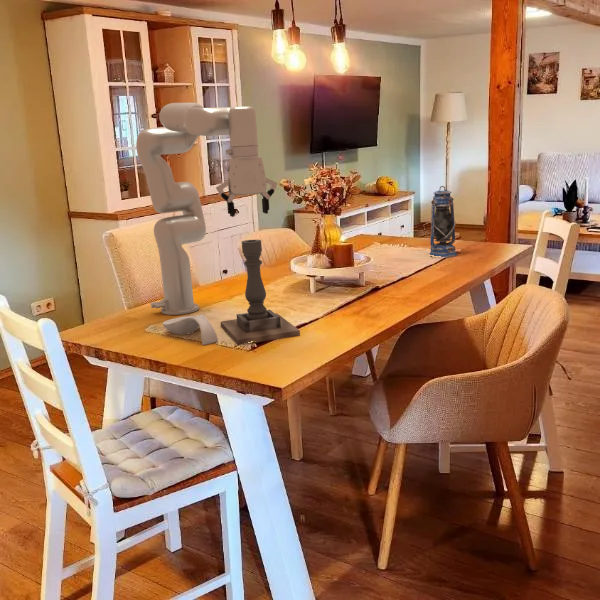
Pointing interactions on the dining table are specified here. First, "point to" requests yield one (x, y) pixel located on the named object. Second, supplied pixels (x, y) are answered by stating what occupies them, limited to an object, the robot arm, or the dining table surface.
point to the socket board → (259, 328)
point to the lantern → (442, 225)
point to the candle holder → (254, 280)
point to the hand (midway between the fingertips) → (249, 214)
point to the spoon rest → (192, 327)
